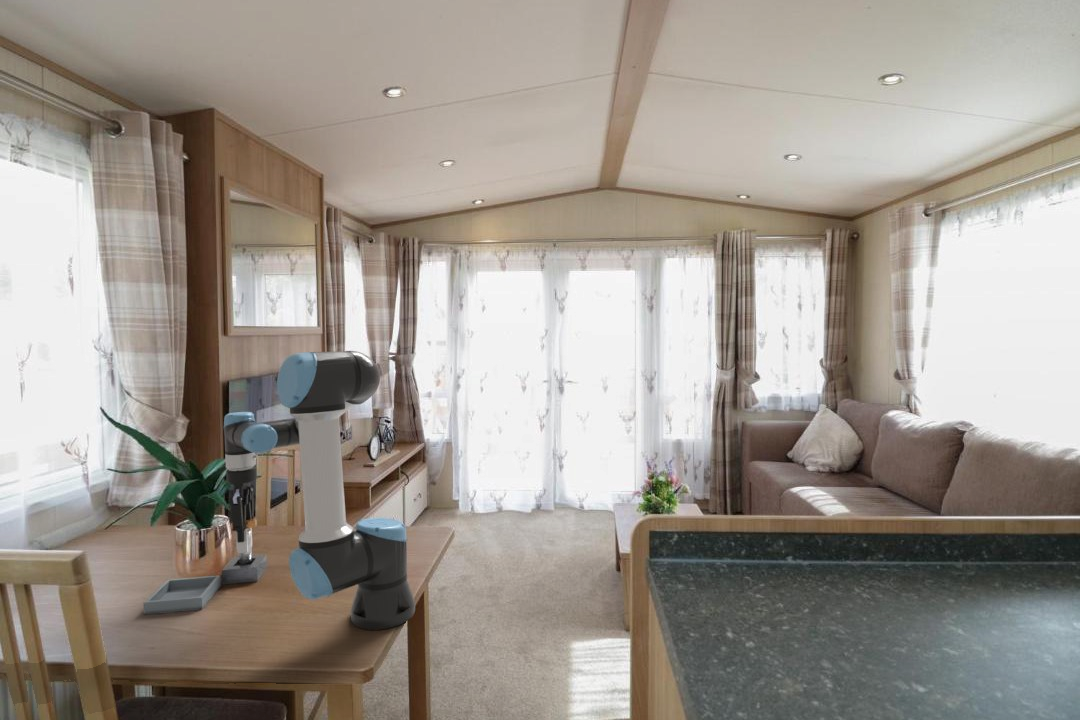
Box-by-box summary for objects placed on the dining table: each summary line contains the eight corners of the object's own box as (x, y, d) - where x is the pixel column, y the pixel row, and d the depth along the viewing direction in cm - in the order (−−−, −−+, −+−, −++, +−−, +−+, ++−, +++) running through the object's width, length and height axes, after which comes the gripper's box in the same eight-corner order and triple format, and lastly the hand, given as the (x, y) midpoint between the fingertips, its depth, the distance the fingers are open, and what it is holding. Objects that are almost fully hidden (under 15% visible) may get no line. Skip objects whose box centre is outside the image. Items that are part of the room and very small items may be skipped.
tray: (202, 609, 141) (201, 597, 141) (144, 614, 138) (143, 602, 138) (221, 585, 153) (220, 575, 153) (168, 590, 151) (167, 579, 151)
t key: (233, 573, 157) (230, 524, 156) (235, 568, 160) (233, 520, 159) (256, 569, 159) (254, 521, 158) (258, 565, 162) (256, 518, 161)
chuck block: (257, 581, 156) (257, 567, 156) (222, 584, 154) (221, 570, 154) (266, 567, 165) (266, 554, 165) (233, 570, 163) (232, 557, 163)
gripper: (246, 473, 151) (250, 559, 152) (263, 460, 167) (267, 538, 168) (216, 475, 149) (219, 562, 150) (236, 461, 165) (239, 540, 166)
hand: (244, 549), depth 159 cm, fingers closed on t key, 3 cm apart
